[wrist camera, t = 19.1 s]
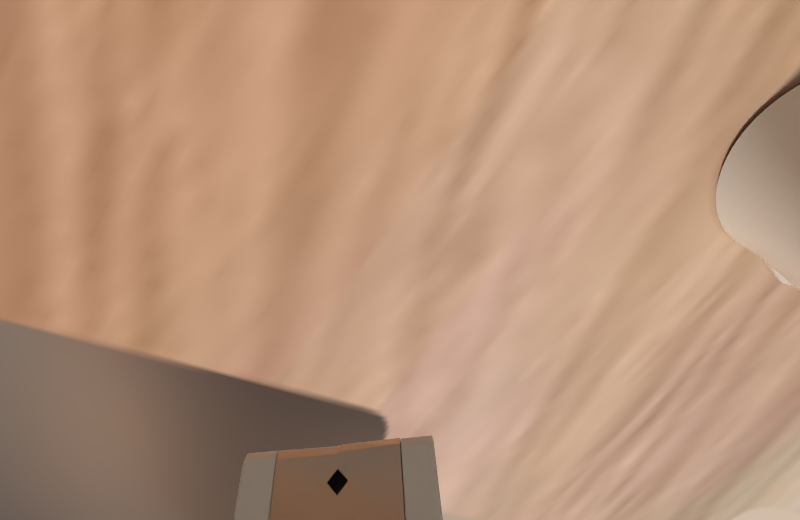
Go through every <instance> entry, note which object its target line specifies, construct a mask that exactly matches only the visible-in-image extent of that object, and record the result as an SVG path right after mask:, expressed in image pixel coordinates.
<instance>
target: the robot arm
mask: <svg viewBox="0 0 800 520" xmlns="http://www.w3.org/2000/svg"><path fill="white" fill-rule="evenodd" d="M716 208H717V213H718V217H719V220H720V222H721V224H722V226H723V228H724V230H725V231H726V233H727V234H728V235H729V236H730V237H731V238H732V239H733V240H734V241H735V242H737V243H738V244H739V245H741V246H743V247H744V248H746V249H747V250H749V251H751V252H752V253H754V254H755V255H757V256H758V257H759V258H761V259H762V260H763V261H764V262H765V263H766V264H767V266H768V268H769V270H770V271H771V272H772V274H773V275H774V276H776V277H777V278H778V279H779V280H780V281H781V282H783V283H784V284H787V285H793V286H794V287H795V288H796V289H798V290H799V291H800V85H798V86H797V87H795V88H794V89H792V90H790V91H789V92H787V93H786V94H784V95H783V96H781V97H780V98H779V99H777V100H776V101H775V102H773V103H772V104H771V105H770V106H769V107H767V108H766V109H765V110H764V111H763V112H762V113H761V114H760V115H759V116H757V117H756V118H755V119H754V121H753V122H752V123H751V124H750V125H749V126H748V127H747V128H746V130H745V131H744V132H743V133H742V135H741V136H740V137H739V138H738V140H737V141H736V143H735V144H734V146H733V147H732V149H731V151H730V153H729V154H728V156H727V158H726V160H725V163H724V165H723V167H722V170H721V173H720V176H719V180H718V184H717V190H716ZM234 520H442V510H441V502H440V493H439V485H438V476H437V467H436V459H435V450H434V441H433V438H432V435H430V436H421V437H412V438H403V439H400V438H395V439H387V440H378V441H370V442H361V443H353V444H344V445H340V446H336V447H323V448H310V449H298V450H284V451H271V452H261V453H251V454H248V455H247V457H246V459H245V461H244V463H243V469H242V474H241V480H240V486H239V492H238V498H237V504H236V510H235V516H234Z"/></svg>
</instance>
